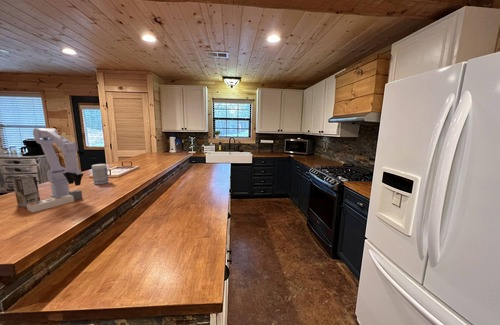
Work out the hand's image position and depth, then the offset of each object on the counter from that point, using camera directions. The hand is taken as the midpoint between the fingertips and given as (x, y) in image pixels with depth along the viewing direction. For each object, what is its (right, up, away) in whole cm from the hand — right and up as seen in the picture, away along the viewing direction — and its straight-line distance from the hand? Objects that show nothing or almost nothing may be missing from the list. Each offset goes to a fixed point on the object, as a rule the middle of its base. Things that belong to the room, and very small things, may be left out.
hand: (74, 184), depth 124 cm
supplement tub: (-11, -3, +37) cm, 39 cm away
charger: (-1, -9, +1) cm, 9 cm away
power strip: (-5, -11, -9) cm, 15 cm away
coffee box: (-19, -11, -7) cm, 24 cm away
